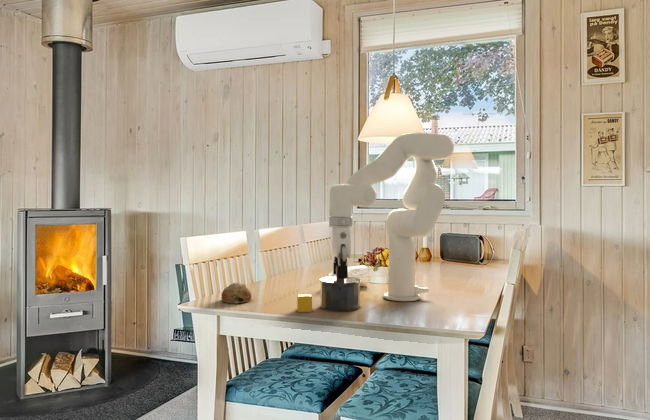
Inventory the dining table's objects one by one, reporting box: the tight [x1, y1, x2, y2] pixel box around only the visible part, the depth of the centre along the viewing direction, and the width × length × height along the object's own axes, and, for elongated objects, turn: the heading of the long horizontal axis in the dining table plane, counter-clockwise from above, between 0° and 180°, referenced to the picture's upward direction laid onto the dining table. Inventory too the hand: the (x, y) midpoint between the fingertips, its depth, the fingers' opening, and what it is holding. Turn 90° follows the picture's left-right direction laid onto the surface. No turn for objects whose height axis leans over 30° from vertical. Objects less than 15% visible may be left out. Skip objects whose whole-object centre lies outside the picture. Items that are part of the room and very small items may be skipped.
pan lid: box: [319, 265, 361, 285], centre depth 170 cm, size 13×13×6 cm
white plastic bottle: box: [324, 265, 372, 287], centre depth 205 cm, size 8×19×8 cm, turn 125°
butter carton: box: [296, 293, 313, 313], centre depth 165 cm, size 4×4×5 cm
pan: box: [320, 282, 361, 312], centre depth 170 cm, size 12×18×8 cm
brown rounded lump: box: [221, 282, 252, 305], centre depth 178 cm, size 10×10×8 cm
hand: (340, 275), depth 170 cm, fingers open, 7 cm apart
